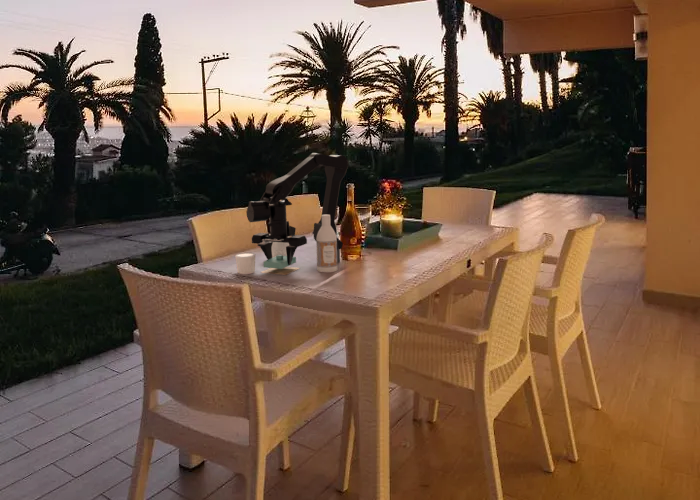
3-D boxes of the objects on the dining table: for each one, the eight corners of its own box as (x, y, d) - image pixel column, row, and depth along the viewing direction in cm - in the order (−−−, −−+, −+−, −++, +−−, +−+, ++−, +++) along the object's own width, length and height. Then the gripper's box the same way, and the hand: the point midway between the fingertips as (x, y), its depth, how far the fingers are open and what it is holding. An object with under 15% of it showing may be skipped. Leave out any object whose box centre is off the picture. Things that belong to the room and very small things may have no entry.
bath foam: (319, 275, 203) (317, 217, 199) (315, 270, 210) (314, 214, 205) (339, 274, 205) (338, 215, 200) (335, 269, 211) (333, 213, 207)
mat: (300, 270, 210) (300, 268, 210) (286, 277, 201) (286, 274, 201) (275, 268, 214) (275, 265, 214) (260, 275, 205) (260, 272, 205)
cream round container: (260, 273, 208) (259, 253, 206) (249, 278, 202) (248, 257, 200) (243, 271, 211) (242, 252, 209) (232, 276, 204) (231, 256, 203)
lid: (296, 262, 210) (295, 253, 209) (281, 268, 201) (281, 259, 200) (278, 260, 213) (278, 252, 212) (263, 267, 204) (263, 258, 203)
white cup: (286, 263, 222) (285, 236, 220) (266, 262, 224) (265, 236, 222) (293, 258, 230) (292, 232, 228) (273, 257, 231) (272, 232, 229)
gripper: (313, 216, 207) (314, 261, 210) (266, 214, 214) (268, 257, 218) (298, 221, 197) (299, 268, 200) (249, 219, 205) (252, 264, 208)
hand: (280, 264), depth 207 cm, fingers closed on lid, 7 cm apart
